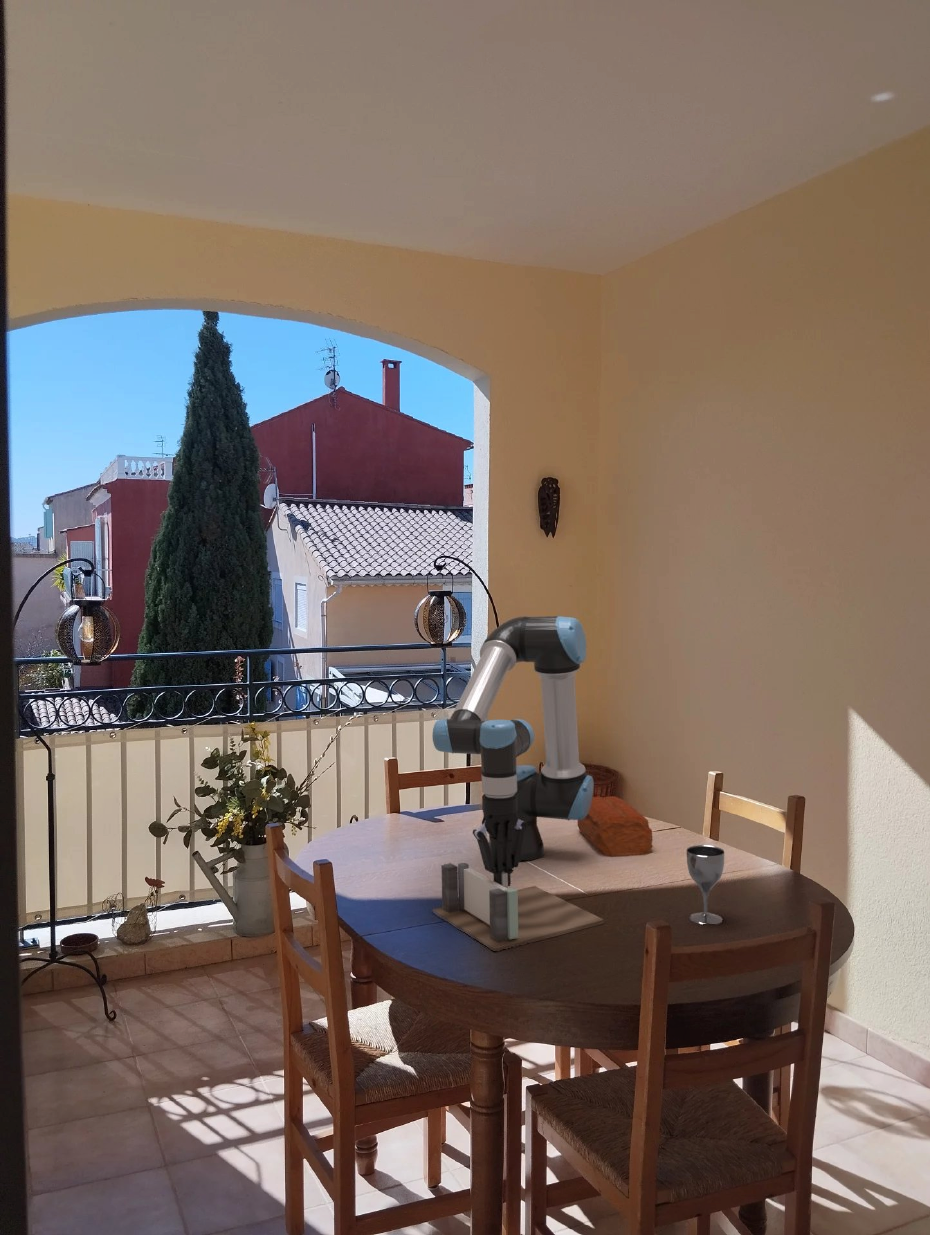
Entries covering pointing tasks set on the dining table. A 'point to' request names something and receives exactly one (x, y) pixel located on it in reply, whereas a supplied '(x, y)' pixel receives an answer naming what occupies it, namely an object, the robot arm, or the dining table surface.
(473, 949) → the dining table surface
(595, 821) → the bread
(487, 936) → the gate frame
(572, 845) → the dining table surface
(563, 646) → the robot arm
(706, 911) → the wine glass
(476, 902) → the gate
